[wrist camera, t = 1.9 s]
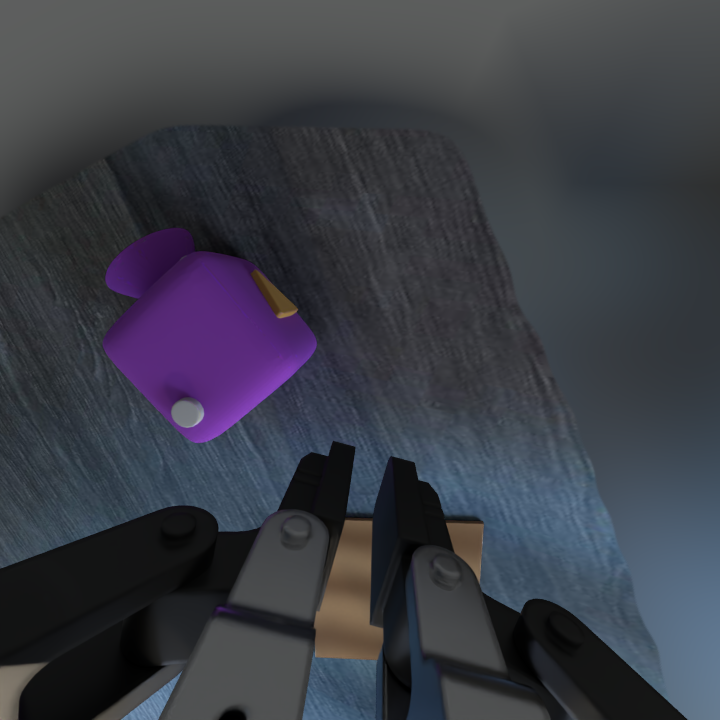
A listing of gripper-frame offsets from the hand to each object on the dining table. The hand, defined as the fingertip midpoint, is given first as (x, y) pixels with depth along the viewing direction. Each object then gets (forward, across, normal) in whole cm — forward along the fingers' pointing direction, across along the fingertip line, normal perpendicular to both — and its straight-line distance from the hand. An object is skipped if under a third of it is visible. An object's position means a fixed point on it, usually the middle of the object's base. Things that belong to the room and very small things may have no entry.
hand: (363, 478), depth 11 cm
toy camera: (+19, +12, 0) cm, 23 cm away
